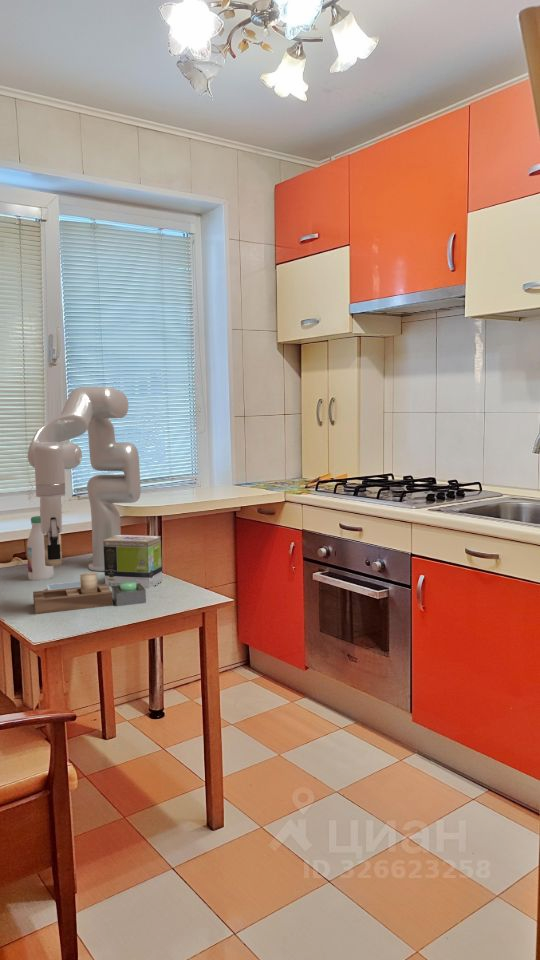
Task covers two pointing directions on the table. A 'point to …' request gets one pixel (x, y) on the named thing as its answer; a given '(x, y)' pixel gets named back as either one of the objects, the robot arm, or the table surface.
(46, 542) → the dowel
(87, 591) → the seated dowel
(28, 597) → the table surface
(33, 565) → the milk bottle
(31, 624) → the table surface
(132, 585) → the button
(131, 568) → the tea box
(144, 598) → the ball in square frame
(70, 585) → the shallow grey square tray
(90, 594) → the wooden dowel rack
